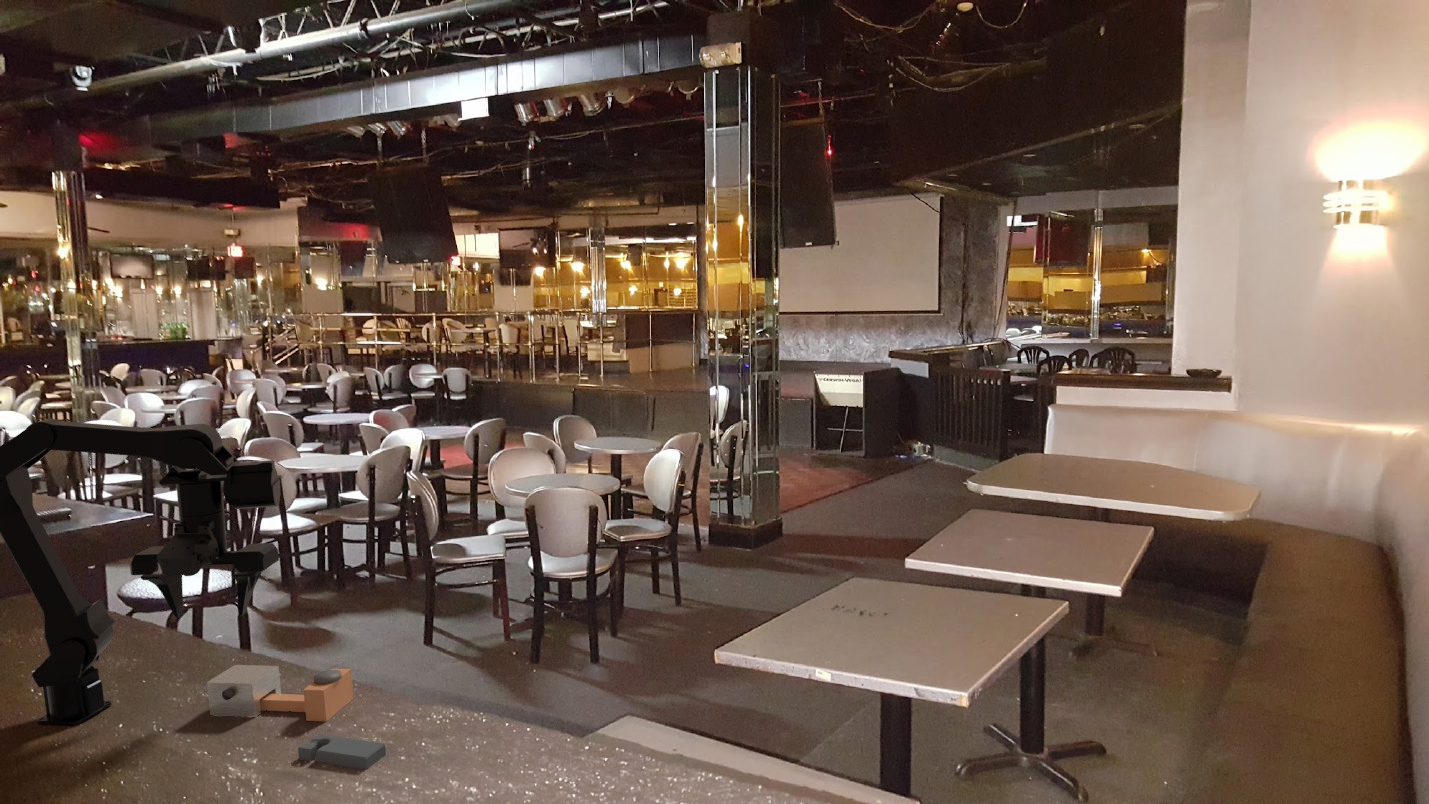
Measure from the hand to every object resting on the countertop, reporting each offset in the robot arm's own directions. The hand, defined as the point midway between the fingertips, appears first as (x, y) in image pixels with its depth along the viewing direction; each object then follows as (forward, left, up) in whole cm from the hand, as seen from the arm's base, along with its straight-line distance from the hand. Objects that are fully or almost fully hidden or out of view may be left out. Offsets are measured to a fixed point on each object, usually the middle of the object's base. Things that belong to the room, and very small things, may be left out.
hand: (210, 615), depth 133 cm
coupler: (+15, -4, -12) cm, 20 cm away
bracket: (+29, -16, -13) cm, 36 cm away
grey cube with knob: (+7, -4, -12) cm, 15 cm away
